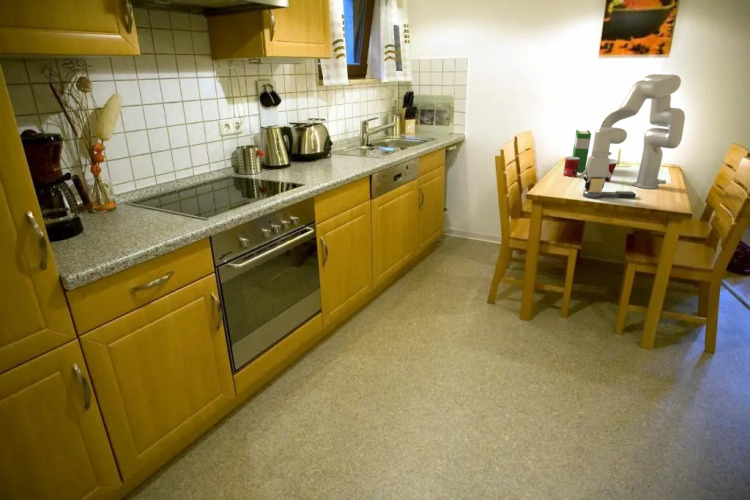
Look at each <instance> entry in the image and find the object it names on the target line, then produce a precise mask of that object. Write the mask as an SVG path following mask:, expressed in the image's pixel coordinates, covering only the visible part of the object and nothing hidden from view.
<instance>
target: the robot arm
mask: <svg viewBox="0 0 750 500" xmlns="http://www.w3.org/2000/svg"><path fill="white" fill-rule="evenodd" d="M681 84H682V80H681V77H680V76H679V75H677V74H662V73H661V74H657V73H656V74H648V75H646V76H644V77H643V80H638V81H636V82H635V83H634V84H633V86H632V87H631V88H630V90H629V92H628V94H627V95H626V97H625V99H624V100H623V102H622V104H621V105H620V106H619V107H618V108H615V109H614V110H613V111H612V112H610V113H609V114H607V115H606V116H605V117H604V118H603V119H602V121H601V122H600V125H599V126H598V127H597V129H596V130H595V133H594V138H593V143H592V148H591V149H592V150H591V155H590V156H589V157H588V158H587V162H586V168H585V171H584V172H583V173H579V175H580V177H581V178H582V180H583V181H585V184H584V190H589V184H590V183H589V181H590V178H592V177H601V178H603V179H604V182H603V187H602V190H603V189H604V185H605V183H607V182H606V181H607V180H608V179H609V178H611V179H612V177H613V174H611V173H610V172H609V159H610V158H609V156H611V155H612V152H611V151H610V147H611V144H615V145H619V144H622V143H624V142H625V141H626V140H627V137H628V133H627V131H626V130H625V129H623V128H620V127H612V126H614V125H615V124H616V123H618V122H619V121H622V120H625V119H627V118H631V117H634V116H636V115H638V113H639V112H640V109H641V108H642V106H643V104H645V102H646V100H649V99H650V100H651V105H650V112H649V113H650V114H649V123H650V125H652V126H655V127H651V128H649V129H647V130H646V131H645V133H644V135H643V150H642V156H641V161H640V163H639V169H638V174H637V179H636V181H634V182H633V183H632V185H633V187H637V188H640V189H648V190H655V189H658V188H660V184H661V185H665V184H667V180H666V179H659V178H658V177H659V173H660V168H661V164H662V161H663V155H664V154H663V149H676V148H677V147H679V145H680V144H681V143H682V142H681V141H682V140H683V133H684V127H685V121H686V115H685V111H684V110H683V109H681V108H678V107H671V100H672V94H674V93H676V91H678V90H679V88H680V87H681ZM656 126H657V127H656ZM661 127H664V128H661ZM662 148H663V149H662Z"/></svg>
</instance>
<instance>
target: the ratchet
mask: <svg viewBox="0 0 750 500" xmlns="http://www.w3.org/2000/svg"><path fill="white" fill-rule="evenodd" d="M636 196H637V194H636V193H635V192H634V191H628V190H627V191H626V190H625V191H624V190H623V191H621V190H619V191H618V190H616V191H602V193H599V192H588V191H587V190H586V189H584V190H583V193H582V197H584V198H587V199H592V200H593V199H594V200H597V199H604V198H605V199H636Z"/></svg>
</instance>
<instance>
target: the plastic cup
mask: <svg viewBox="0 0 750 500" xmlns="http://www.w3.org/2000/svg"><path fill="white" fill-rule="evenodd" d="M618 163H619V160H617V159H613V158H609V172H610V173H611V174H612V175H614V171H615V169H616V167H617V164H618ZM611 179H612V177H611V178H609V179H608V180H607V181H606V182H605V183H607V182H610V181H611Z"/></svg>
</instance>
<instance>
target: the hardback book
mask: <svg viewBox="0 0 750 500" xmlns="http://www.w3.org/2000/svg"><path fill="white" fill-rule="evenodd" d="M591 137H592V133H591V131H590V130H589V129H587V130H586V131H585V130H583V131H582V130H581V131H580V130H578V129H576V130H575V136H574V143H573V150H572V154H571V155H572V156H571V157H578V158H580V160H579V167H578V173H579V174H581V173H583V172H584V171H585V169H586V165H587V162H588V154H589V150H590V143H591V139H592V138H591ZM578 173H577V174H578Z"/></svg>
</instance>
